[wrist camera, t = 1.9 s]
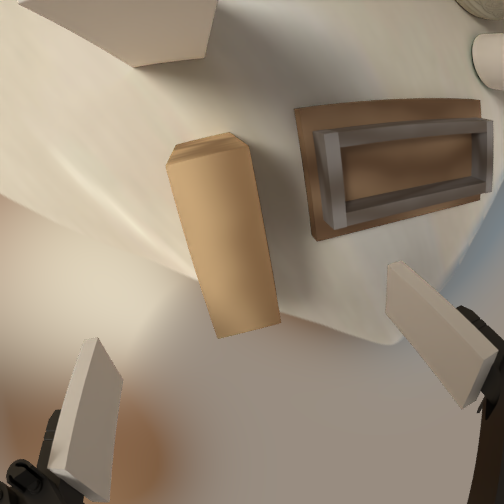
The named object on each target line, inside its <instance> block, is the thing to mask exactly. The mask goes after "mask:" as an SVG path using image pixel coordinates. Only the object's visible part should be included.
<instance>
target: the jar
mask: <svg viewBox="0 0 504 504" xmlns="http://www.w3.org/2000/svg"><path fill="white" fill-rule="evenodd" d="M456 1H457V2H458V3H459V4H460V5H461V6H462V7H463V8H464V9H465V10H467V11H468V12H469V13H471V14H473V15H474V16H476V17H479V18H484V19H489V20H500V19H504V0H456Z"/></svg>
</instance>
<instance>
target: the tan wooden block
mask: <svg viewBox="0 0 504 504" xmlns="http://www.w3.org/2000/svg"><path fill="white" fill-rule="evenodd" d="M166 170H167V173H168V177H169V181H170V185H171V188H172V192H173V196H174V199H175V203H176V207H177V210H178V214H179V217H180V221H181V224H182V228H183V231H184V234H185V238H186V241H187V245H188V248H189V251H190V255H191V258H192V261H193V264H194V268H195V271H196V274H197V277H198V280H199V283H200V287H201V290H202V293H203V296H204V299H205V302H206V305H207V308H208V311H209V314H210V317H211V320H212V323H213V326H214V329H215V332H216V335H217V338H218V339H220V338H224V337H228V336H232V335H236V334H240V333H244V332H248V331H252V330H256V329H260V328H264V327H268V326H272V325H275V324H279V323H281V319H280V313H279V307H278V301H277V296H276V295H277V294H276V288H275V283H274V277H273V271H272V266H271V260H270V255H269V249H268V244H267V238H266V233H265V227H264V222H263V216H262V211H261V206H260V200H259V195H258V190H257V184H256V179H255V174H254V169H253V165H252V160H251V155H250V150H249V146H248V145H246V144H245V143H244V142H242V141H241V140H240V139H238V138H237V137H235V136H234V135H233V134H231V133H230V132H228V133H223V134H219V135H214V136H210V137H206V138H202V139H197V140H193V141H189V142H185V143H181V144H178V145H176V146H175V148H174V150H173V152H172V154H171V156H170V158H169V160H168V162H167V164H166Z"/></svg>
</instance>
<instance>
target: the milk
mask: <svg viewBox="0 0 504 504" xmlns="http://www.w3.org/2000/svg"><path fill="white" fill-rule="evenodd" d="M17 3H18V4H19V5H21V6H23V7H25V8H27V9H29V10H31V11H33V12H35V13H37V14H39V15H41V16H43V17H45V18H47V19H49V20H51V21H53V22H55V23H57V24H58V25H60V26H62V27H64V28H66V29H68V30H70V31H71V32H73V33H75V34H77V35H79V36H80V37H82V38H84V39H86V40H87V41H89V42H91V43H93V44H94V45H96V46H98V47H99V48H101V49H103V50H105V51H106V52H108V53H110V54H111V55H113V56H115V57H116V58H118V59H120V60H121V61H123V62H124V63H126V64H128V65H129V66H131V67H139V66H145V65H151V64H158V63H165V62H173V61H181V60H190V59H201V58H205V54H206V50H207V45H208V41H209V36H210V32H211V27H212V23H213V19H214V15H215V11H216V7H217V3H218V0H17Z"/></svg>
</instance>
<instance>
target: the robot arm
mask: <svg viewBox="0 0 504 504" xmlns="http://www.w3.org/2000/svg"><path fill="white" fill-rule="evenodd" d="M385 313H386V314H387V316H388V317H389V318H390V319H391V320H392V322H393V323H394V324H395V325H396V326H397V328H398V329H399V330H400V331H401V332H402V334H403V335H404V336H405V337H406V339H407V340H408V341H409V342H410V343H411V345H412V346H413V347H414V348H415V350H416V351H417V352H418V353H419V355H420V356H421V357H422V358H423V360H424V361H425V362H426V363H427V365H428V366H429V367H430V369H431V370H432V371H433V372H434V374H435V375H436V376H437V378H438V379H439V380H440V382H441V383H442V384H443V385H444V387H445V388H446V389H447V391H448V392H449V393H450V395H451V396H452V397H453V399H454V400H455V401H456V403H457V404H458V405H459V407H460V408H461V409H463V408H465V407H466V406H468V405H470V404H471V403H473V402H474V401H476V399H477V397H478V395H479V393H480V391H481V392H482V393H483V394H484V395H485V397H484V398H483V400H482V402H481V404H480V406H479V408H478V411H477V413H480V411H481V409H482V419H481V429H480V437H479V445H478V452H477V458H476V464H475V470H474V475H473V480H472V485H471V490H470V494H469V498H468V502H467V504H504V340H503V339H502V338H501V337H500V336H498V334H496V333H495V332H494V331H493V330H492V329H491V328H490V327H489V326H487V325H486V323H485V322H484V321H483V320H480V317H478V316H477V315H476V314H475V313H474V312H473V311H472V310H470V309H468V308H466V307H463V306H459V307H457V308H455V307H454V306H452V305H451V304H450V303H449V302H448V301H447V300H446V299H445V298H444V297H443V296H442V295H440V294H439V293H438V292H437V291H436V290H435V289H434V288H433V287H432V286H430V285H429V284H428V283H427V282H426V281H425V280H424V279H422V278H421V277H420V276H419V275H418V274H417V273H416V272H414V271H413V270H412V269H411V268H410V267H409V266H407V265H406V264H405V263H404V262H403V261H402V260H401V261H398V262H395V263H392V264H388V270H387V293H386V309H385ZM122 384H123V378H122V376H121V375H120V374H119V372H118V370H117V369H116V367H115V365H114V364H113V362H112V360H111V359H110V357H109V355H108V354H107V352H106V351H105V349H104V347H103V345H102V344H101V342H100V340H99V338H92V339H87V340H84V341H83V344H82V347H81V350H80V352H79V355H78V358H77V361H76V364H75V368H74V370H73V373H72V376H71V379H70V383H69V386H68V389H67V392H66V396H65V399H64V402H63V406H62V409H61V410H55V411H54V413H53V414H52V416H51V417H50V419H49V421H48V425H47V428H46V432H45V436H44V441H43V443H42V447H41V451H40V455H39V459H38V464H37V468H36V467H34V466H33V465H32V464H31V463H30V462H28V461H26V460H24V459H19V460H17V461H15V462H13V463H12V464H11V465H10V467H9V469H8V470H7V475H6V478H7V483H8V484H10V485H11V486H12V487H8V486H7V485H6V484H4V483H3V482H1V481H0V504H84V503H83V498H84V496H85V497H86V498H88V499H89V500H91V501H92V502H109V501H110V485H111V472H112V461H113V451H114V443H115V433H116V426H117V418H118V411H119V404H120V397H121V391H122Z"/></svg>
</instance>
